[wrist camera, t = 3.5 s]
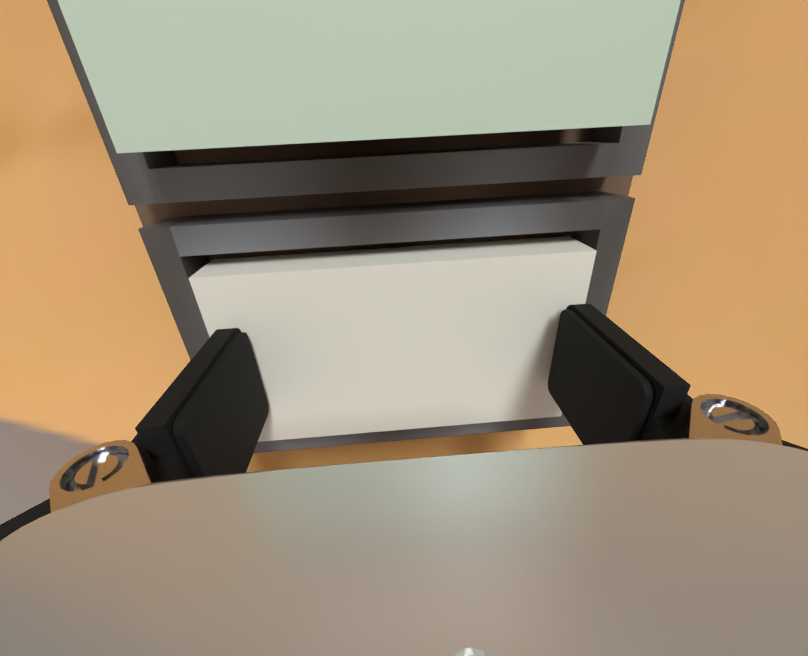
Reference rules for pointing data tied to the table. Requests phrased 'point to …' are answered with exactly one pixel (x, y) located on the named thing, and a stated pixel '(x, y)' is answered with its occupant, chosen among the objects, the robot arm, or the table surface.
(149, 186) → the dark grey tile board
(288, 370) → the cream tile
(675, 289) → the table surface
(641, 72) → the sage tile
